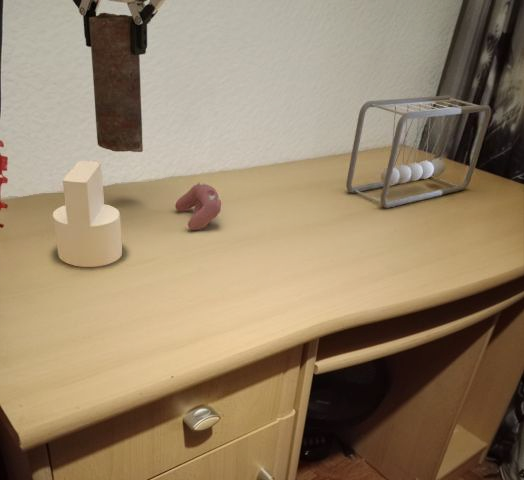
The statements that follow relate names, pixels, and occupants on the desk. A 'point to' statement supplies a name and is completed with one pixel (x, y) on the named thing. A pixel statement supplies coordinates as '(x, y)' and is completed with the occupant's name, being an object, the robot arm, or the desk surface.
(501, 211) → the desk surface
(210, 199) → the video game controller
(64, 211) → the base with upright slab
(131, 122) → the rusty brown cylinder
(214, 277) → the desk surface
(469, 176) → the newton's cradle
